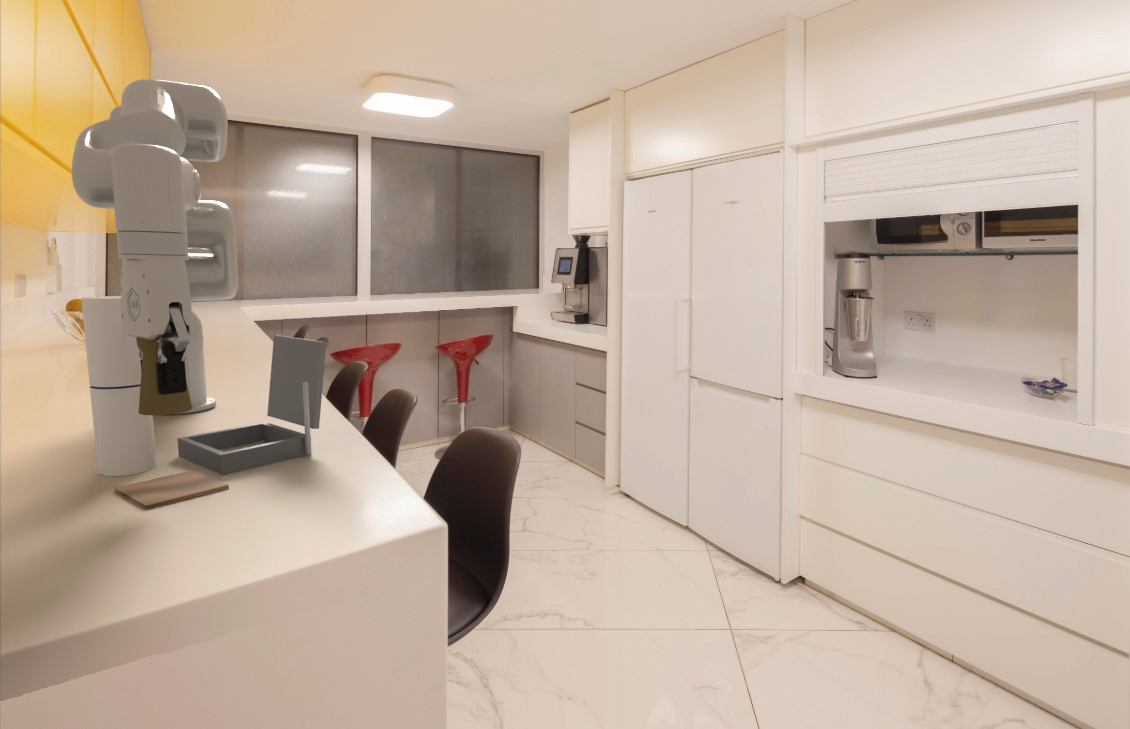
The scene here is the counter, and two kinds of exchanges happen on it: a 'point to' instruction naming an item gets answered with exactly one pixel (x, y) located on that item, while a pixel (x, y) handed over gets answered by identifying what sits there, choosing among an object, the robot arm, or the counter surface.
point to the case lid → (296, 379)
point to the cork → (149, 393)
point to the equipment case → (277, 449)
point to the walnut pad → (170, 489)
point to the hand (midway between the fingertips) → (164, 389)
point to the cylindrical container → (116, 391)
